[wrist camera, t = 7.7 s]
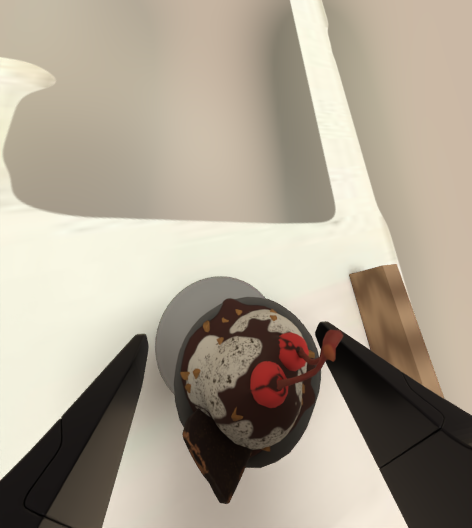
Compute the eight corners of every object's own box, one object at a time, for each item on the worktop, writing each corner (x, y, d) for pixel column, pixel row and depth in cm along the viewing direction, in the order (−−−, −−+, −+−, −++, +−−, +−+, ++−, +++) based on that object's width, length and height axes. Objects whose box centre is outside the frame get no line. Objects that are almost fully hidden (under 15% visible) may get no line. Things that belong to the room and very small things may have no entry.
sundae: (247, 297, 19) (383, 251, 5) (265, 365, 18) (530, 579, 3) (182, 314, 18) (105, 318, 3) (197, 390, 16) (172, 965, 2)
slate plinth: (278, 382, 20) (290, 393, 17) (164, 409, 18) (157, 427, 15) (260, 276, 23) (268, 271, 20) (159, 287, 21) (153, 282, 18)
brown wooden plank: (405, 419, 22) (462, 449, 17) (392, 424, 21) (446, 455, 17) (360, 273, 26) (396, 264, 21) (349, 274, 26) (382, 265, 21)
